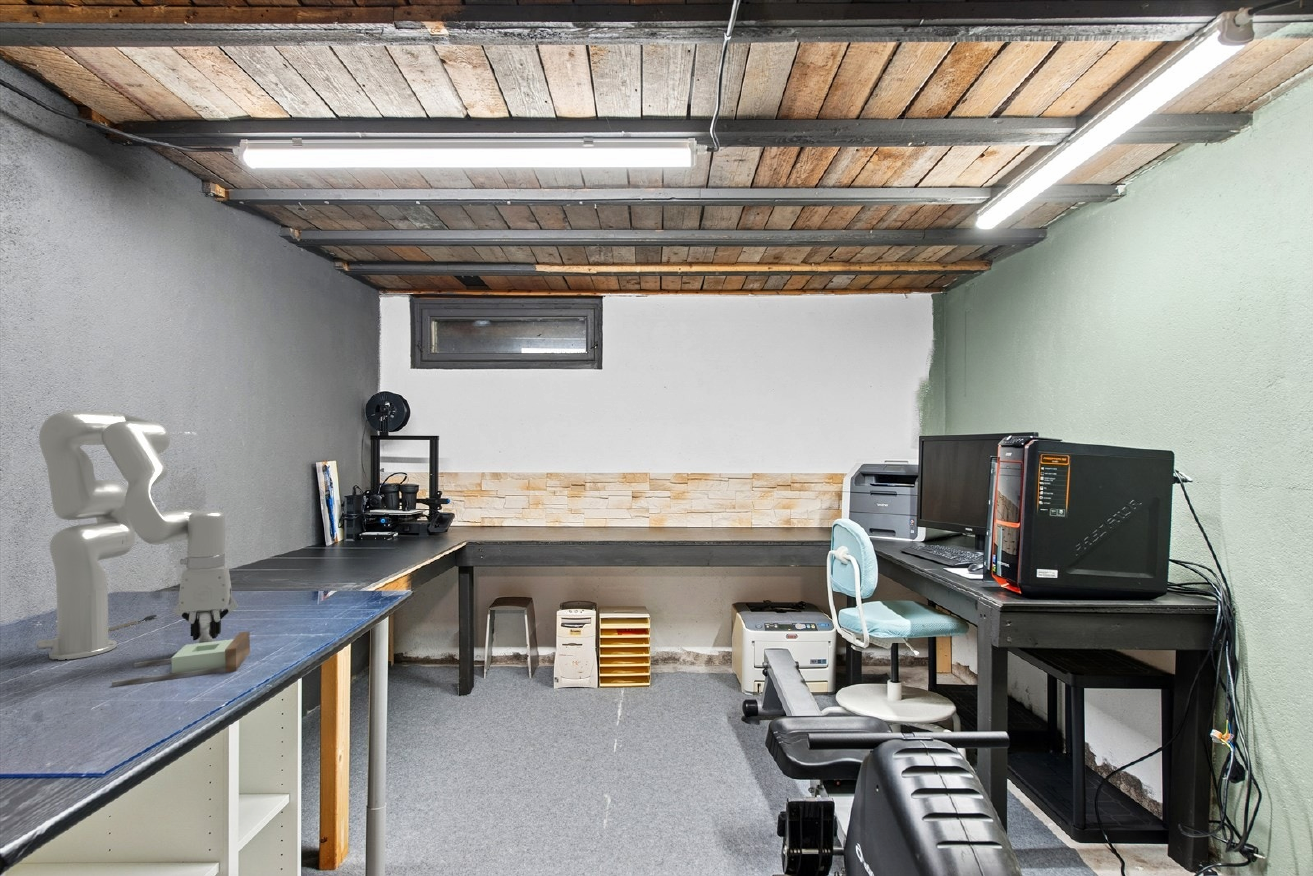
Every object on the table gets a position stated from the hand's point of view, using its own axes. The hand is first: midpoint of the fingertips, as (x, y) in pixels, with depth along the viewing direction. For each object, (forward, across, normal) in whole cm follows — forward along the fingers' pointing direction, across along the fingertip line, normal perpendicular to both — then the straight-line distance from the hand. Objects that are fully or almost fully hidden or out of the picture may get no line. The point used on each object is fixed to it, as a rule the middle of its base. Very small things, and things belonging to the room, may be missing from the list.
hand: (205, 637), depth 158 cm
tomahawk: (+6, -28, +39) cm, 49 cm away
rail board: (+4, -2, -15) cm, 16 cm away
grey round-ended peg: (+2, 0, 0) cm, 2 cm away
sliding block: (+2, +4, -15) cm, 16 cm away
